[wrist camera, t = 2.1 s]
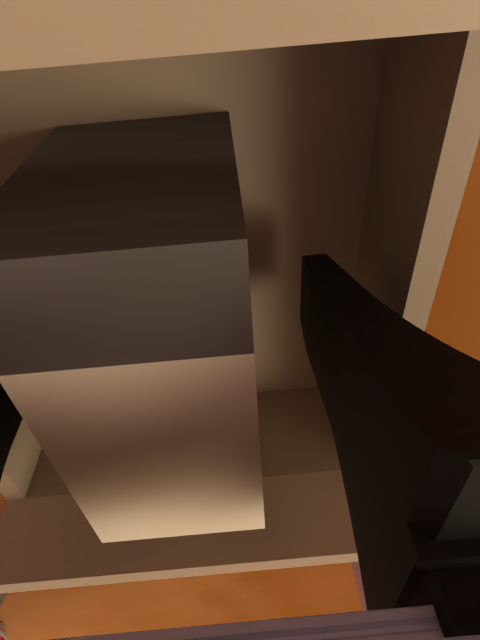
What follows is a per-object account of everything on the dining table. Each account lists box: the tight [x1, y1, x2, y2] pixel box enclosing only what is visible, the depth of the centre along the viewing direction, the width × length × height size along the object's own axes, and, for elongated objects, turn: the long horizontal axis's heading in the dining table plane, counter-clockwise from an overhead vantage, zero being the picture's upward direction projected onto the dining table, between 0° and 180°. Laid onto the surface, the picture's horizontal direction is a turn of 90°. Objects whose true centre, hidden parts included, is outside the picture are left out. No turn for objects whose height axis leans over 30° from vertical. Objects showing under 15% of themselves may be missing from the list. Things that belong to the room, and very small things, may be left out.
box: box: [0, 111, 265, 543], centre depth 10 cm, size 8×4×6 cm, turn 4°
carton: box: [0, 0, 480, 594], centre depth 10 cm, size 13×12×6 cm
